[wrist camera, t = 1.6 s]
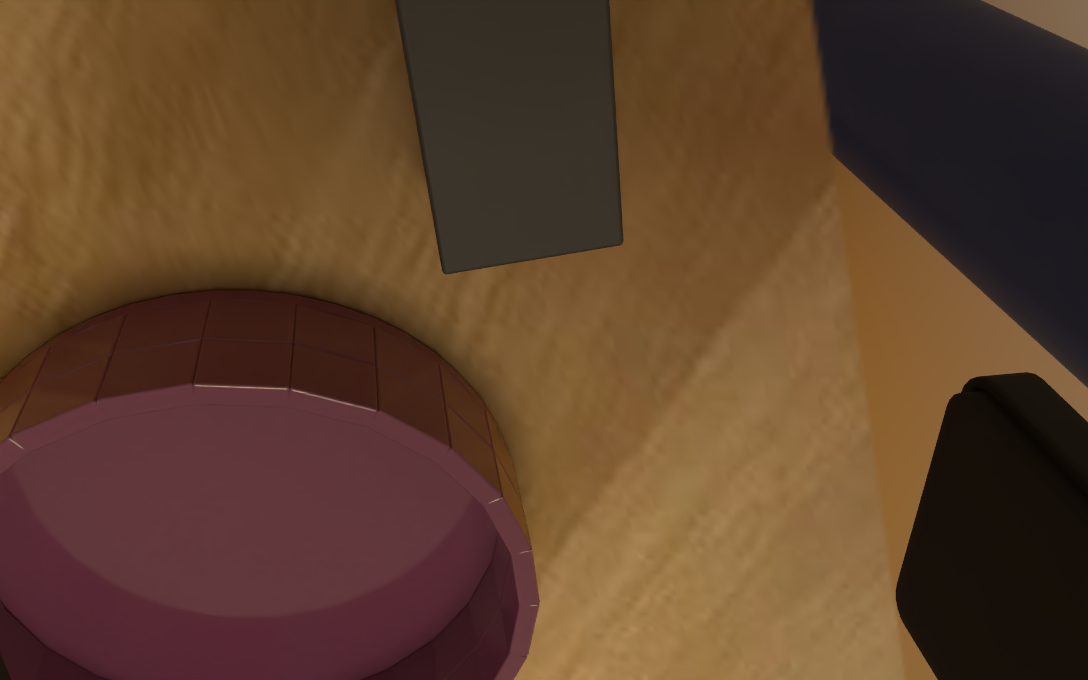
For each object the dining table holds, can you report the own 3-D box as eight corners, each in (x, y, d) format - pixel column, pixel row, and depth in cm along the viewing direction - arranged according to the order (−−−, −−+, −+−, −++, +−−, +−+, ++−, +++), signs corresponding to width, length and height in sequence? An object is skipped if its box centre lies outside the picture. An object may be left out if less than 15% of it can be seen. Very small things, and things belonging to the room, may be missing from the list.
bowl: (479, 242, 27) (501, 330, 23) (538, 646, 36) (561, 756, 32) (-153, 347, 25) (-239, 458, 22) (73, 740, 34) (39, 867, 30)
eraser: (551, -185, 22) (601, -159, 18) (579, 159, 26) (624, 246, 22) (367, -161, 21) (372, -129, 17) (427, 184, 26) (443, 276, 22)
